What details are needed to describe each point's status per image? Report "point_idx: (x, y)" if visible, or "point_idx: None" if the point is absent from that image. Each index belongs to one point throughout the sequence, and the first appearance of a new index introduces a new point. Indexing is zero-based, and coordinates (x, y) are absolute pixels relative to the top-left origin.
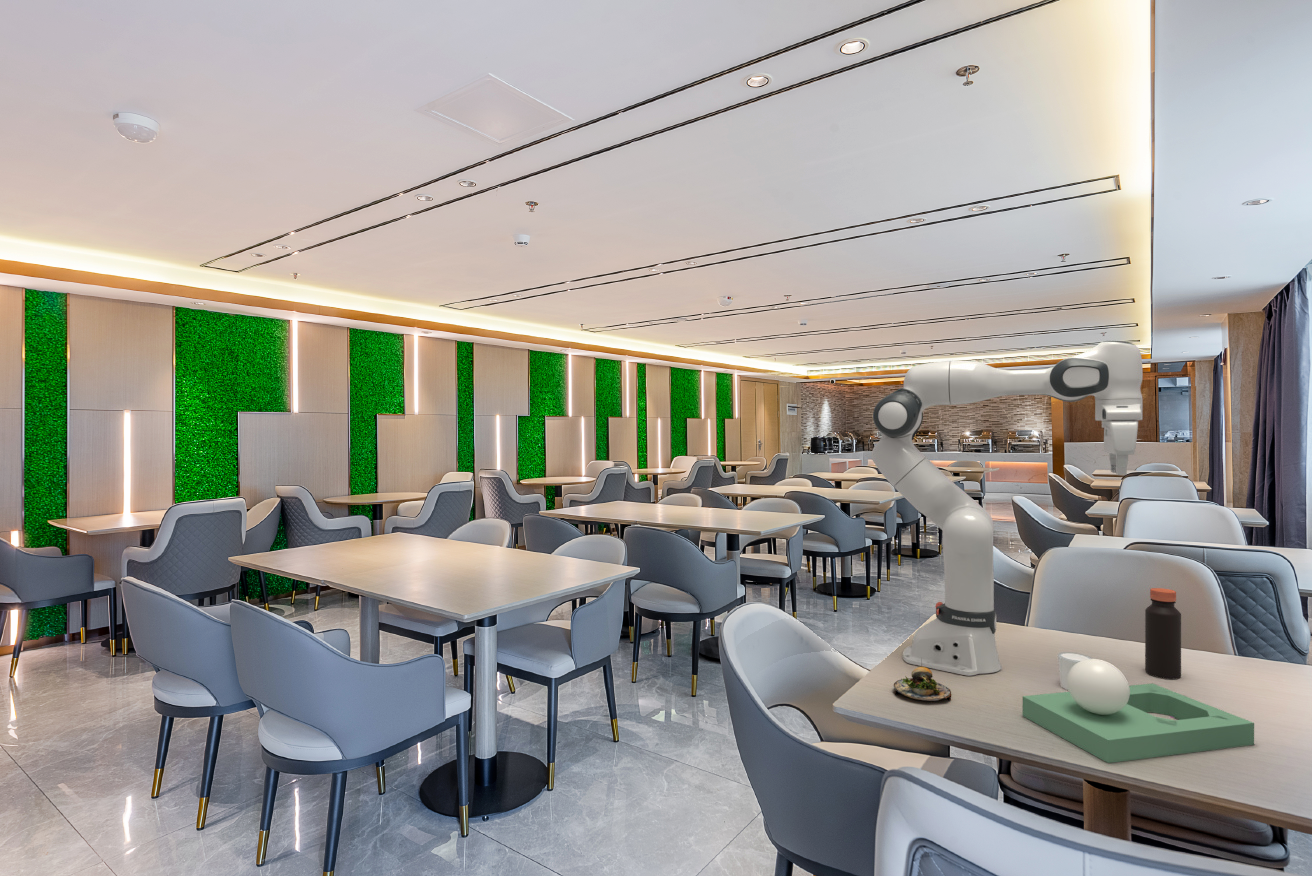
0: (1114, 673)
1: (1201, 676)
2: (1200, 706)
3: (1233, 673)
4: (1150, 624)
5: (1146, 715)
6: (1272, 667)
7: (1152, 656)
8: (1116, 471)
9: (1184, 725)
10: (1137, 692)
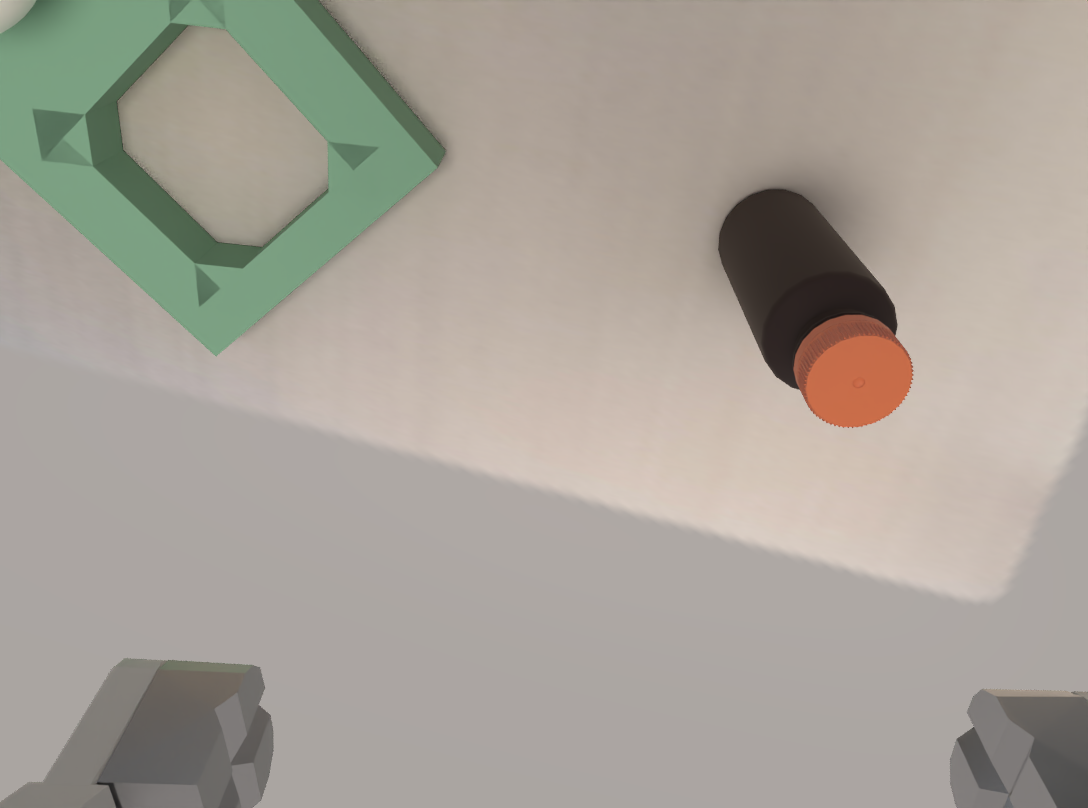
0: None
1: None
2: (272, 260)
3: (858, 436)
4: (786, 263)
5: (76, 88)
6: (955, 541)
7: (750, 224)
8: (140, 697)
9: (63, 181)
10: (302, 100)
